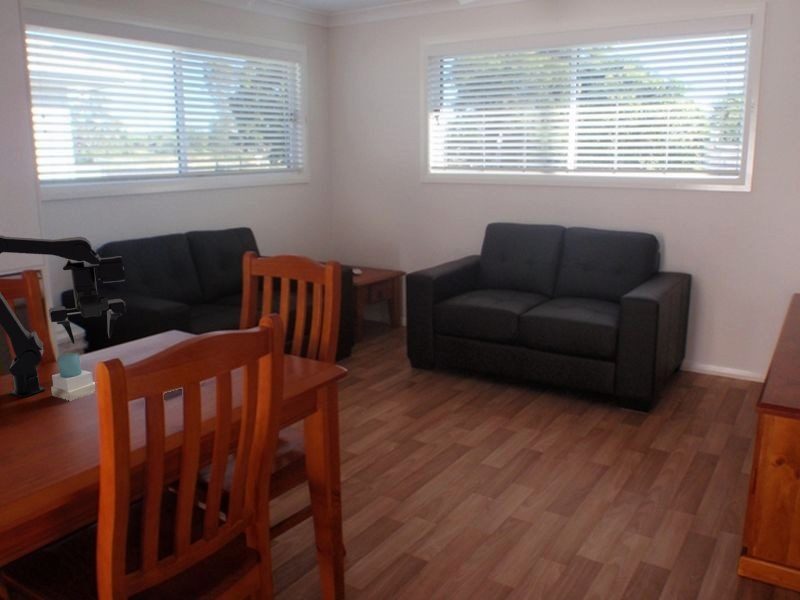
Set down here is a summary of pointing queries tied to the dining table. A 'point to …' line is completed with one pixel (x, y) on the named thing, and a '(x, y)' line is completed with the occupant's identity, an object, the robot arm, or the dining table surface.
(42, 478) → the dining table surface
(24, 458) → the dining table surface
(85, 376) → the top block
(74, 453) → the dining table surface
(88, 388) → the base slab
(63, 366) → the light teal cube
